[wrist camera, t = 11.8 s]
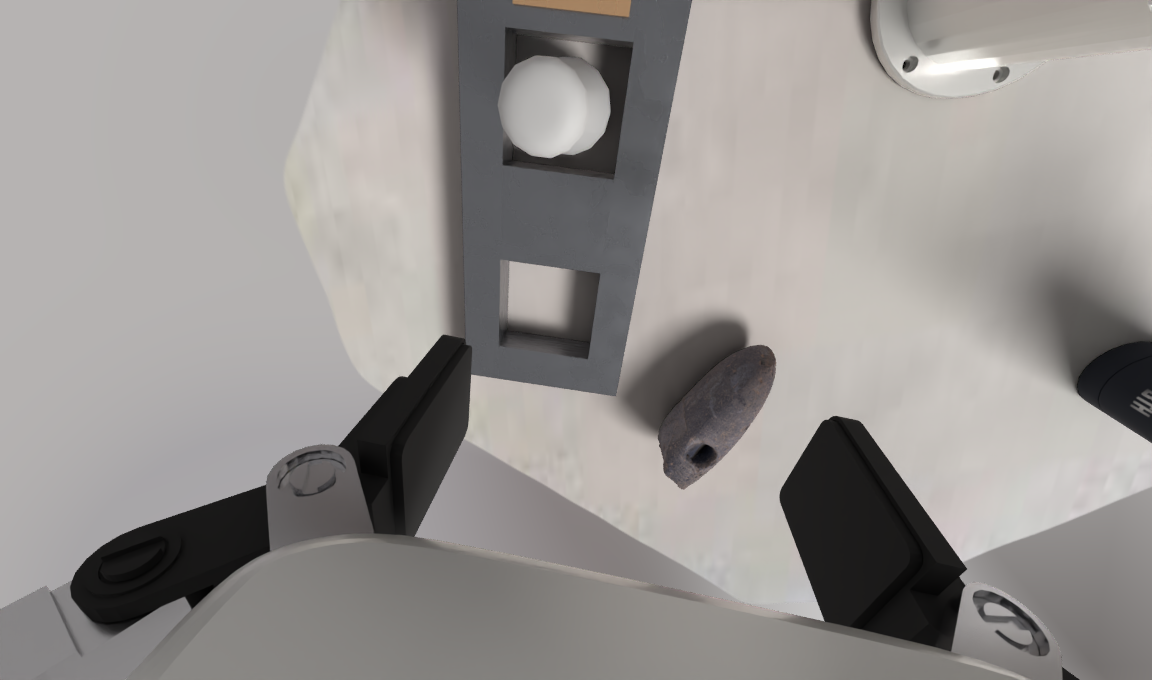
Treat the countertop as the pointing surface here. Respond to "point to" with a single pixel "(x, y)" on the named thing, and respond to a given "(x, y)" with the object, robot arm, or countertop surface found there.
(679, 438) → the perforated stone tool
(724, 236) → the countertop surface
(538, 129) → the salt shaker
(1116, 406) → the wine bottle
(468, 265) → the socket panel
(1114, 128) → the countertop surface
